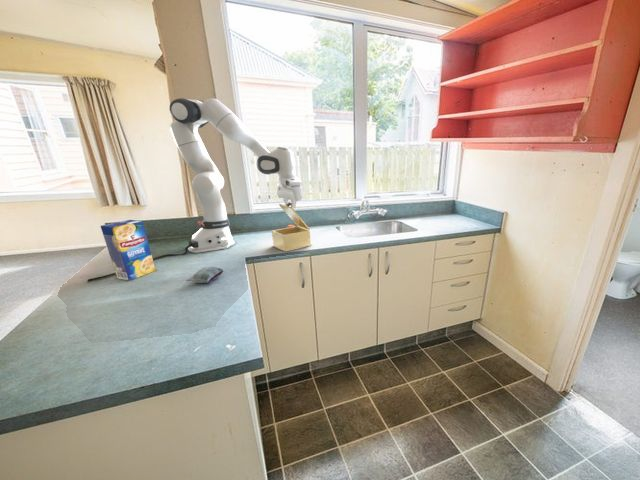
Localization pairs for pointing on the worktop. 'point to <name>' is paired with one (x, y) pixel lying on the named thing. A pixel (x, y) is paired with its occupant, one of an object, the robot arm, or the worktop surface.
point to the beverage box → (128, 249)
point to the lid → (294, 215)
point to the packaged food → (206, 275)
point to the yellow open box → (291, 238)
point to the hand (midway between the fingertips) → (290, 207)
